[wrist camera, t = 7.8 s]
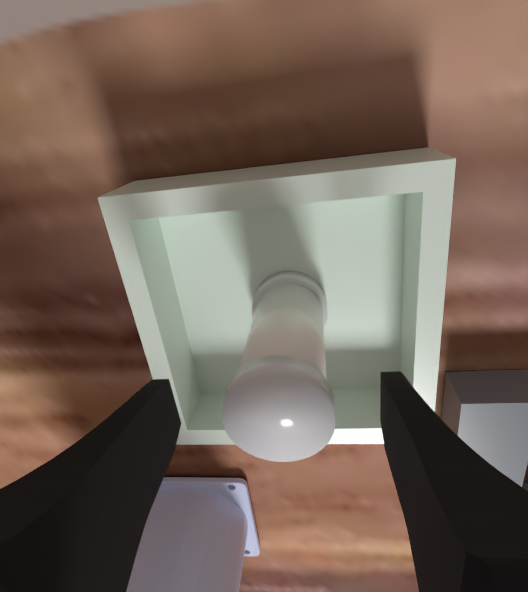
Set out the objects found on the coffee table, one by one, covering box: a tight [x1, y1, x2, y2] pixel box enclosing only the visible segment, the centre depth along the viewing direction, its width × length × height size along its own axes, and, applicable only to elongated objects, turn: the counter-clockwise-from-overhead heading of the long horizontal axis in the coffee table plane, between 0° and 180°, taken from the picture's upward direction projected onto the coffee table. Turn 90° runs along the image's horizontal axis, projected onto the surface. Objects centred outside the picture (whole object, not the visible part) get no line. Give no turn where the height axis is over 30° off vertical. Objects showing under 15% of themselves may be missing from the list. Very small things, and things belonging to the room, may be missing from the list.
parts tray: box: [98, 147, 456, 445], centre depth 18 cm, size 13×13×4 cm
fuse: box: [221, 271, 335, 462], centre depth 16 cm, size 4×4×8 cm
